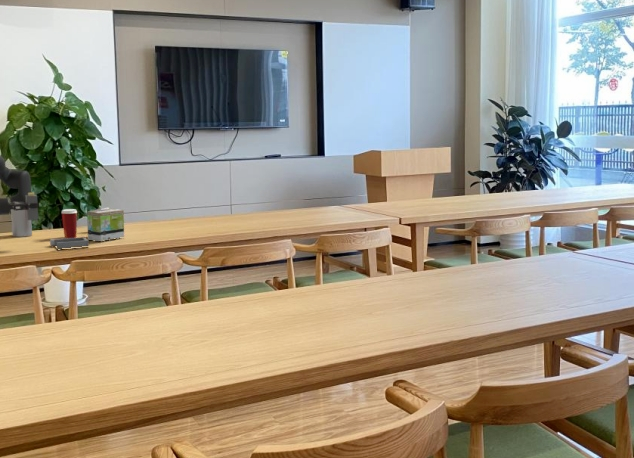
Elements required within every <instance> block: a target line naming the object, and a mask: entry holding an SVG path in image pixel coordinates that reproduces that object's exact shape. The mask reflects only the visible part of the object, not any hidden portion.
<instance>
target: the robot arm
mask: <svg viewBox="0 0 634 458" xmlns="http://www.w3.org/2000/svg"><path fill="white" fill-rule="evenodd" d="M0 181H1V182H3V184H5V186H6V187H8V188H10V189H16V190H17V191H18V192H17V194H15V195H12V196H10V197H9V198H8V197H4V198H3V197H2V198H0V216H5V215H7V216H8V215H10V214H11V215H10V217H11V218H10V219H11V232H12V233H11V234H12V237H19V238H20V237H21V238H23V237H31V236H32V235H33V227H32V220H27V214H26V210H28V209H31V208H38V209H40V204H39V202H37V203H32V204H30V203H26V195H28V193H32V187H31V185H32V182H31V181H32V179H31V175H30V173H29V172H28V171H27V170H19V169H18V170H14V169H10V168H9V167H7V166H6V160H5V158H4V157H3V156H2V155H1V154H0Z"/></svg>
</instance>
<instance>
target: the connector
mask: <svg viewBox="0 0 634 458" xmlns="http://www.w3.org/2000/svg"><path fill="white" fill-rule="evenodd" d="M26 203H30V204H32V203H38V195H37V194H35V192H31V193H28V195H26ZM26 214H27V220H31V221H39V208H31V209H28V210H26Z"/></svg>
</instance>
